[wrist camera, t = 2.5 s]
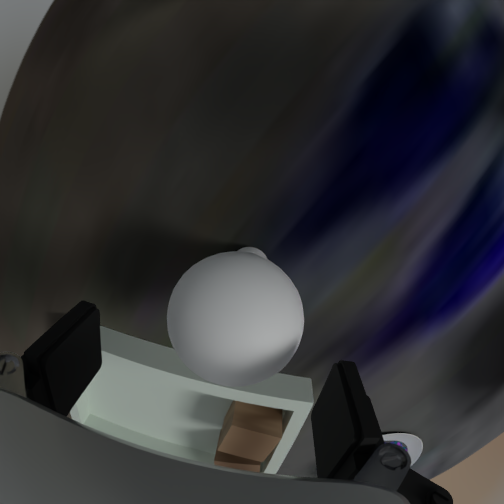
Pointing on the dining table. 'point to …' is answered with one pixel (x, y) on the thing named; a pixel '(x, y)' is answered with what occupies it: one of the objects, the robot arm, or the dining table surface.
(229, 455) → the walnut block
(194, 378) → the tray
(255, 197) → the dining table surface
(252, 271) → the lightbulb
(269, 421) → the walnut block
